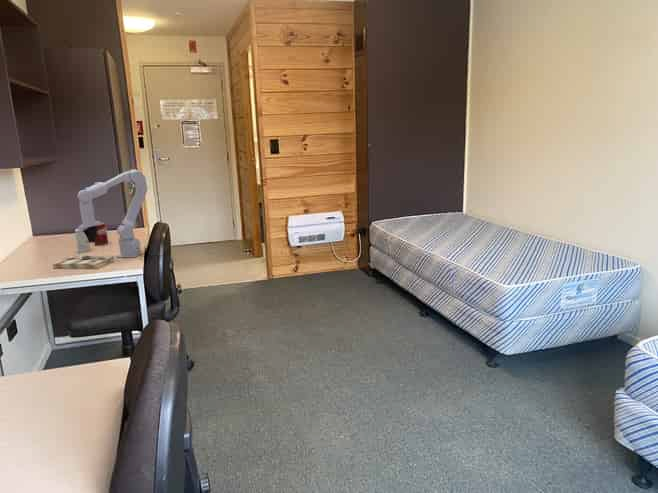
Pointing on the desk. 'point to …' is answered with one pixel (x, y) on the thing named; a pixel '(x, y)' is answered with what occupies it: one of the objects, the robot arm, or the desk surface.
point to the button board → (83, 263)
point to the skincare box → (82, 241)
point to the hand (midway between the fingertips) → (92, 242)
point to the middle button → (85, 257)
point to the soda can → (101, 235)
